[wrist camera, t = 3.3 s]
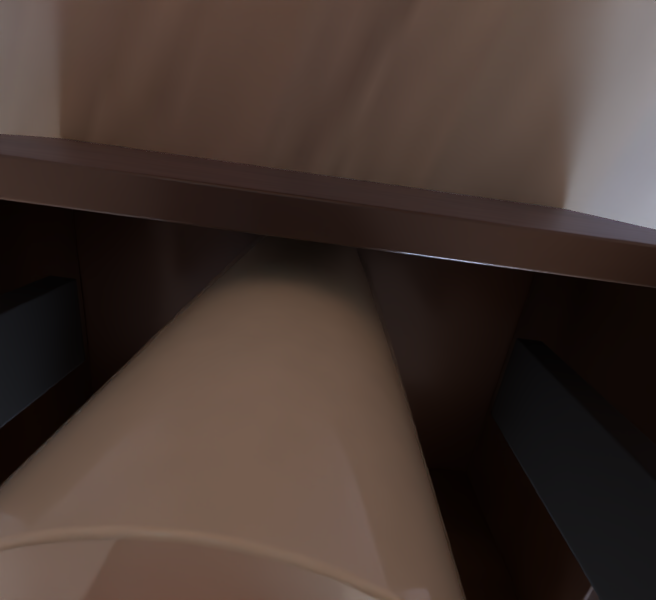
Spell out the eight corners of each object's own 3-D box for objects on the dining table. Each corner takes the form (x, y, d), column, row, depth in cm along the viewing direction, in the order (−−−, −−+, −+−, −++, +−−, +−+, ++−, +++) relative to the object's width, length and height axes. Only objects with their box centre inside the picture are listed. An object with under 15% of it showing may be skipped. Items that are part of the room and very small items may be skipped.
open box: (92, 427, 19) (-78, 615, 11) (58, 138, 14) (-284, 114, 6) (472, 473, 19) (561, 684, 12) (566, 209, 15) (827, 268, 7)
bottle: (226, 352, 16) (-233, 1154, 3) (231, 213, 14) (-1106, 923, 1) (362, 369, 16) (458, 1203, 3) (387, 235, 14) (938, 1089, 1)
